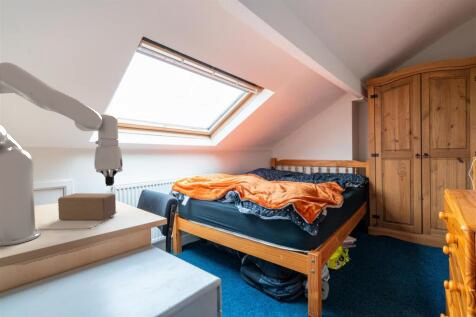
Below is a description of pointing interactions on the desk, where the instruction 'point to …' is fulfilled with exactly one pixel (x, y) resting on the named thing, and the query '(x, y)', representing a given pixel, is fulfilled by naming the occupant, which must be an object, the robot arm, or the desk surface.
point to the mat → (71, 224)
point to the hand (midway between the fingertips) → (109, 185)
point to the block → (86, 206)
